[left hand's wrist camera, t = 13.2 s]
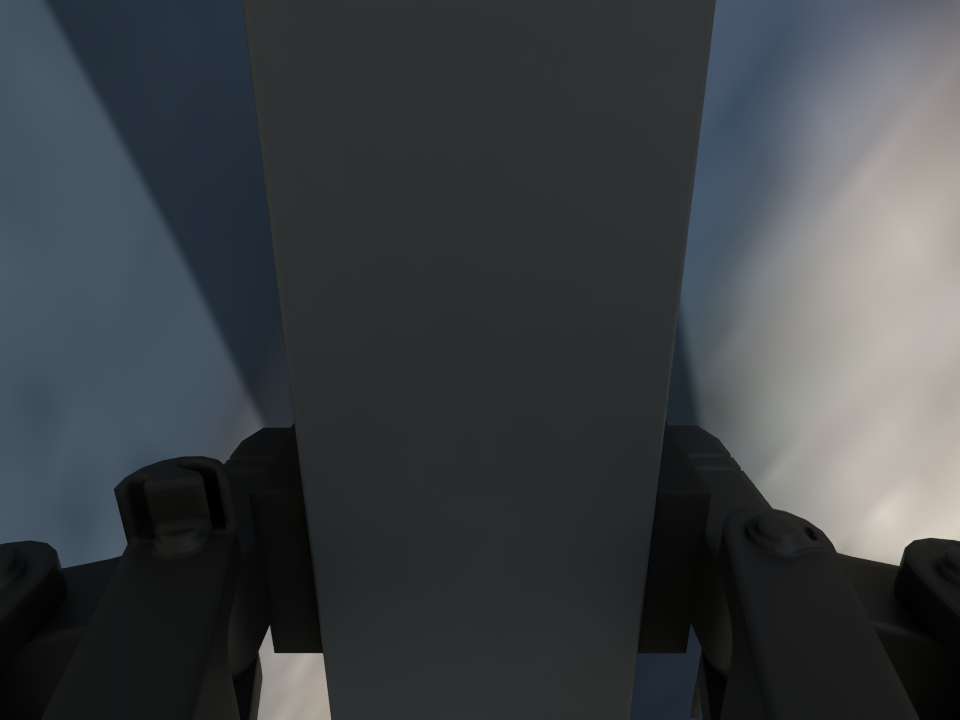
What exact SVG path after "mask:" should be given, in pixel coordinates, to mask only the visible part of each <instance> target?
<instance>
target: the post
mask: <svg viewBox="0 0 960 720" xmlns="http://www.w3.org/2000/svg"><path fill="white" fill-rule="evenodd" d="M715 3H716V0H242V4H243V12H244V20H245V28H246V36H247V44H248V52H249V60H250V68H251V76H252V84H253V92H254V100H255V108H256V116H257V124H258V133H259V141H260V149H261V157H262V165H263V173H264V181H265V189H266V197H267V205H268V213H269V221H270V229H271V237H272V245H273V253H274V261H275V269H276V277H277V285H278V294H279V302H280V310H281V318H282V326H283V334H284V342H285V350H286V358H287V366H288V374H289V382H290V390H291V398H292V406H293V414H294V422H295V430H296V438H297V446H298V455H299V463H300V471H301V479H302V487H303V495H304V503H305V511H306V519H307V527H308V535H309V543H310V551H311V559H312V567H313V575H314V583H315V591H316V599H317V607H318V616H319V624H320V632H321V640H322V648H323V656H324V664H325V672H326V680H327V688H328V696H329V704H330V712H331V720H629V719H630V711H631V702H632V694H633V686H634V677H635V669H636V661H637V652H638V644H639V636H640V627H641V619H642V611H643V603H644V594H645V586H646V578H647V569H648V561H649V553H650V544H651V536H652V528H653V519H654V511H655V503H656V494H657V486H658V478H659V469H660V461H661V453H662V444H663V436H664V428H665V419H666V411H667V403H668V394H669V386H670V378H671V369H672V361H673V353H674V344H675V336H676V328H677V319H678V311H679V303H680V294H681V286H682V278H683V270H684V261H685V253H686V245H687V236H688V228H689V220H690V211H691V203H692V195H693V186H694V178H695V170H696V161H697V153H698V145H699V136H700V128H701V120H702V111H703V103H704V95H705V86H706V78H707V70H708V61H709V53H710V45H711V36H712V28H713V20H714V11H715Z"/></svg>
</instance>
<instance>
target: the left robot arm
mask: <svg viewBox="0 0 960 720" xmlns="http://www.w3.org/2000/svg"><path fill="white" fill-rule="evenodd" d="M730 455H731V454H730V453H729V452H728V451H727V449H726V448H725V447H724V445H723V444H722V443H721V442H720V440H719V439H718V438H716V437H714V436H713V435H711V434H710V433H708V432H706V431H705V430H703V429H702V428H700V427H698V426H668V425H667V423H666V422H665V428H664V436H663V444H662V453H661V461H660V469H659V478H658V486H657V494H656V503H655V511H654V519H653V528H652V536H651V544H650V553H649V561H648V569H647V578H646V586H645V594H644V603H643V611H642V619H641V627H640V636H639V644H638V652H637V653H686V649H687V643H688V636H689V630H690V624H692V626H693V628H694V631H695V633H696V635H697V638H698V640H699V642H700V645H701V647H702V651H701V657H700V662H699V668H698V674H697V680H696V685H695V691H694V697H693V703H692V710H691V717H694V718H699V715H700V709H701V708H702V715H703V720H960V541H955V540H946V539H937V538H927V539H920V540H914V541H913V542H912V543H910V544H909V545H908V546H907V547H905V550H904V553H903V556H902V559H901V563H900V566H896V565H891V564H886V563H881V562H876V561H871V560H866V559H861V558H856V557H851V556H847V555H843V554H840V553H837V552H836V550H835V548H834V546H833V544H832V542H831V541H830V540H829V539H828V538H827V536H826V535H825V534H824V533H823V531H822V530H820V529H819V528H817V527H816V526H814V525H813V524H811V523H810V522H808V521H807V520H805V519H803V518H800V517H798V516H795V515H793V514H791V513H788V512H785V511H781V510H776V509H772V507H771V506H770V505H769V503H768V502H767V501H766V500H765V498H764V497H763V496H762V494H761V493H760V492H759V491H758V489H757V488H756V487H755V485H754V484H753V483H752V482H751V480H750V479H749V478H748V476H747V475H746V474H745V473H744V471H741V469H740V468H741V467H740V466H739V465H738V464H737V462H736V461H735V460H734V458H731V456H730ZM114 492H115V496H116V499H117V503H118V507H119V511H120V515H121V519H122V523H123V527H124V531H125V535H126V539H127V543H128V545H127V547H126V549H125V551H124V553H123V555H122V556H120V557H116V558H112V559H108V560H103V561H98V562H93V563H88V564H83V565H78V566H73V567H68V568H63V569H62V568H61V564H60V561H59V558H58V555H57V551H56V550H55V549H54V548H52V547H51V546H50V545H49V544H48V543H43V542H36V541H22V542H13V543H5V544H0V720H257V717H258V709H259V701H260V693H261V685H262V670H261V662H260V657H259V649H260V646H261V644H262V642H263V639H264V637H265V635H266V632H267V630H268V628H269V625H270V628H271V634H272V640H273V646H274V653H323V648H322V640H321V632H320V624H319V616H318V607H317V599H316V591H315V583H314V575H313V567H312V559H311V551H310V543H309V535H308V527H307V519H306V511H305V503H304V495H303V487H302V479H301V471H300V463H299V455H298V446H297V438H296V430H295V422H294V424H293V425H292V427H291V428H262V429H261V430H259V431H258V432H256V433H254V434H253V435H251V436H250V437H248V438H246V439H245V440H243V441H242V442H241V443H240V445H239V446H238V447H237V449H236V450H235V451H234V452H233V454H232V455H231V456H230V460H227V462H226V463H225V464H223V463H221V462H220V461H219V460H217V459H212V458H208V457H204V456H190V457H179V458H174V459H168V460H163V461H160V462H157V463H154V464H152V465H149V466H146V467H143V468H141V469H139V470H138V471H136V472H134V473H132V474H131V475H129V476H127V477H125V478H124V479H123V480H122V481H121V482H120V483H119V484H118V485H117V486H116V487H115V488H114Z"/></svg>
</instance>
